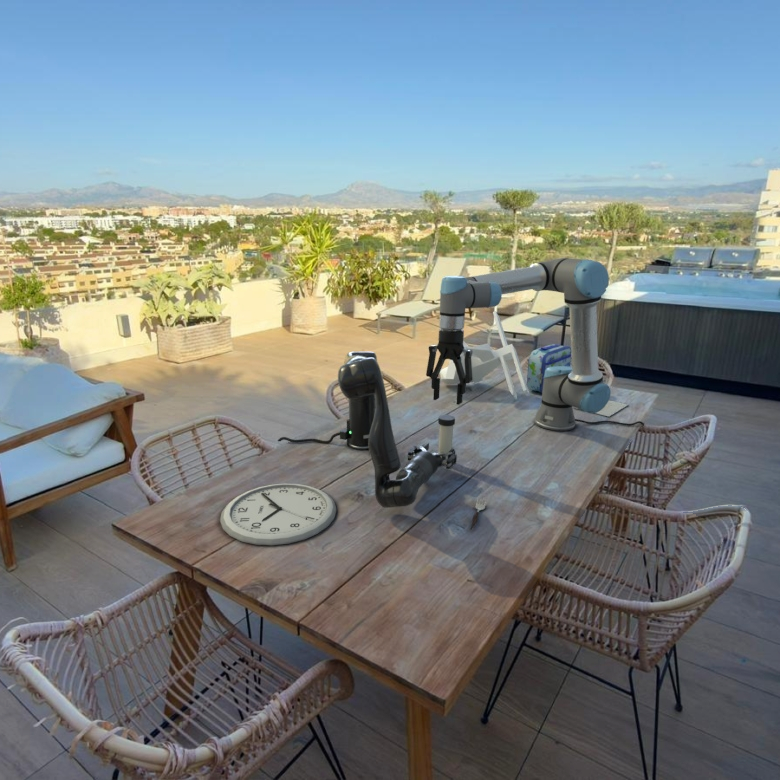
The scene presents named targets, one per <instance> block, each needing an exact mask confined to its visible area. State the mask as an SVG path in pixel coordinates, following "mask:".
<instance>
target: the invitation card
mask: <svg viewBox="0 0 780 780" xmlns="http://www.w3.org/2000/svg"><path fill="white" fill-rule="evenodd" d="M628 406H629V404H627V403H623V402H618V401H614V400H610V399H609V401H608V403H607V404H606V405H605V407H604V408H603V409H602V410H600V411H599V412H596V413H595V414H596V415H600V416H604V417H608V418H609V417H611V416H613V415H614V414H616V413H617V412H619V411H621V410H623V409H624V408H626V407H628ZM573 409H575V410H579V409H578V408H575V407H573Z"/></svg>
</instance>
